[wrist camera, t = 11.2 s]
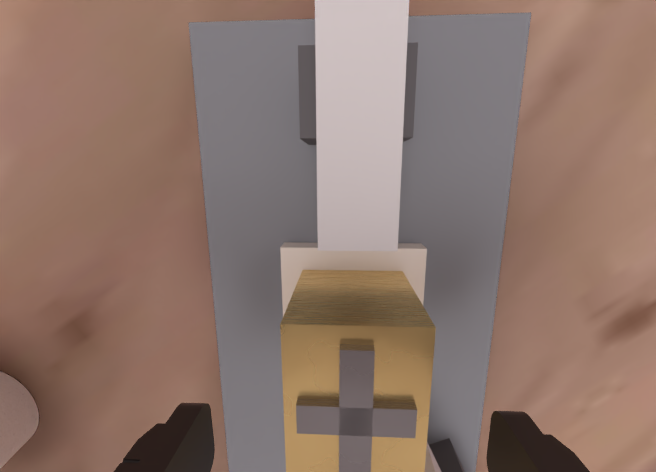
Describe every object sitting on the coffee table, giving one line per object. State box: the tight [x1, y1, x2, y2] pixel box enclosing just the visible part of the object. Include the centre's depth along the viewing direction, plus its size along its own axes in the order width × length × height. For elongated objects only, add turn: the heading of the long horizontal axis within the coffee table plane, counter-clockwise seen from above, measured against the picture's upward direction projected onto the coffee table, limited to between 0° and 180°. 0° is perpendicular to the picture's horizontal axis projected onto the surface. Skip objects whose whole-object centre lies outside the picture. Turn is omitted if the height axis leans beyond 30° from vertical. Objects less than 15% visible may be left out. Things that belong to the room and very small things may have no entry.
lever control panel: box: [189, 0, 531, 472], centre depth 13 cm, size 27×14×6 cm, turn 0°
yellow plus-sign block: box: [280, 270, 436, 472], centre depth 12 cm, size 6×4×5 cm
